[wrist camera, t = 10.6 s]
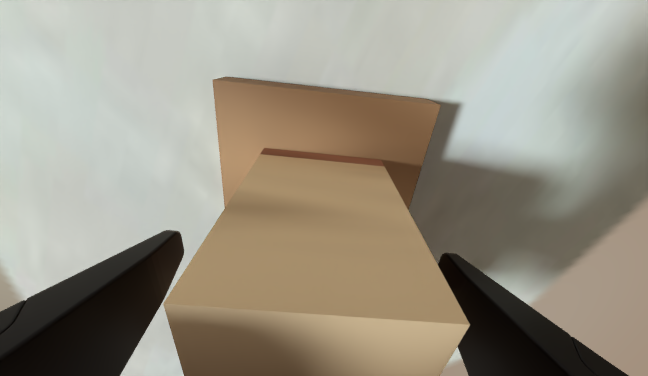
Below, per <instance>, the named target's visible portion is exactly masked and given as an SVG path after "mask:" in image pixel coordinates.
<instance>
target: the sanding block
mask: <svg viewBox="0 0 648 376" xmlns="http://www.w3.org/2000/svg"><path fill="white" fill-rule="evenodd" d="M163 304H164V308H165V311H166V315H167V318H168V322H169V325H170V329H171V332H172V335H173V339H174V342H175V346H176V349H177V353H178V356H179V360H180V363H181V366H182V370H183V373H184V376H440V374H441V373H442V371H443V369H444V368H445V366H446V364H447V363H448V361H449V359H450V358H451V356H452V354H453V353H454V351H455V349H456V348H457V346H458V344H459V343H460V341H461V339H462V338H463V336H464V334H465V333H466V331H467V329H468V328H469V326H470V324H469V322H468V320H467V318H466V316H465V314H464V313H463V311H462V309H461V307H460V305H459V303H458V301H457V300H456V298H455V296H454V294H453V292H452V290H451V289H450V287H449V285H448V283H447V281H446V279H445V277H444V276H443V274H442V272H441V270H440V268H439V266H438V264H437V263H436V261H435V259H434V257H433V255H432V253H431V252H430V250H429V248H428V246H427V244H426V242H425V240H424V239H423V237H422V235H421V233H420V231H419V229H418V227H417V226H416V224H415V222H414V220H413V218H412V216H411V215H410V213H409V211H408V209H407V207H406V205H405V203H404V202H403V200H402V198H401V196H400V194H399V192H398V190H397V189H396V187H395V185H394V183H393V181H392V179H391V178H390V176H389V174H388V172H387V170H386V168H385V166H384V165H383V163H382V161H381V160H379V159H369V158H359V157H349V156H339V155H329V154H319V153H309V152H299V151H289V150H279V149H269V148H264V149H263V150H262V152H261V154H260V155H259V157H258V158H257V160H256V161H255V163H254V164H253V166H252V167H251V169H250V171H249V172H248V174H247V175H246V177H245V178H244V180H243V181H242V183H241V184H240V186H239V188H238V189H237V191H236V192H235V194H234V195H233V197H232V198H231V200H230V201H229V203H228V205H227V206H226V208H225V209H224V211H223V212H222V214H221V215H220V217H219V218H218V220H217V222H216V223H215V225H214V226H213V228H212V229H211V231H210V232H209V234H208V235H207V237H206V239H205V240H204V242H203V243H202V245H201V246H200V248H199V249H198V251H197V252H196V254H195V256H194V257H193V259H192V260H191V262H190V263H189V265H188V266H187V268H186V269H185V271H184V273H183V274H182V276H181V277H180V279H179V280H178V282H177V283H176V285H175V286H174V288H173V290H172V291H171V293H170V294H169V296H168V297H167V299H166V300H165V302H164V303H163Z"/></svg>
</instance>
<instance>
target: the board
mask: <svg viewBox="0 0 648 376" xmlns="http://www.w3.org/2000/svg"><path fill="white" fill-rule="evenodd" d="M213 89H214V99H215V110H216V120H217V131H218V141H219V152H220V162H221V173H222V183H223V194H224V204H225V208H226V206H227V205H228V203H229V201H230V200H231V198H232V197H233V195H234V194H235V192H236V191H237V189H238V188H239V186H240V184H241V183H242V181H243V180H244V178H245V177H246V175H247V174H248V172H249V171H250V169H251V167H252V166H253V164H254V163H255V161H256V160H257V158H258V157H259V155H260V154H261V152H262V150H263V149H264V148H269V149H279V150H289V151H299V152H309V153H319V154H329V155H339V156H349V157H359V158H369V159H379V160H381V161H382V163H383V165H384V166H385V168H386V170H387V172H388V174H389V176H390V178H391V179H392V181H393V183H394V185H395V187H396V189H397V190H398V192H399V194H400V196H401V198H402V200H403V202H404V203H405V205H406V207H407V209H409V206H410V203H411V200H412V197H413V193H414V190H415V187H416V184H417V180H418V177H419V174H420V171H421V167H422V164H423V161H424V158H425V155H426V151H427V148H428V145H429V142H430V138H431V135H432V132H433V129H434V126H435V122H436V119H437V116H438V113H439V109H440V106H441V105H440V104H437V103H435V102H433V101H430V100H428V99H422V98H413V97H404V96H395V95H386V94H377V93H368V92H359V91H350V90H341V89H332V88H323V87H314V86H305V85H296V84H287V83H278V82H269V81H260V80H251V79H243V78H234V77H223V78H218V79H214V80H213Z"/></svg>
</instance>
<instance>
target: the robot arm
mask: <svg viewBox="0 0 648 376" xmlns="http://www.w3.org/2000/svg"><path fill="white" fill-rule="evenodd" d="M183 255H184V247H183V242H182V237H181V234H180V232H179V231H172V230H166V231H163V232H161V233H159V234H157V235H155V236H153V237H151V238H149V239H147V240H145V241H143V242H141V243H139V244H137V245H135V246H133V247H131V248H129V249H127V250H125V251H123V252H121V253H119V254H116V255H114V256H112V257H110V258H108V259H106V260H104V261H102V262H100V263H98V264H96V265H94V266H92V267H90V268H88V269H86V270H84V271H82V272H80V273H78V274H76V275H74V276H72V277H70V278H68V279H66V280H64V281H62V282H60V283H58V284H56V285H54V286H52V287H50V288H48V289H45V290H43V291H41V292H39V293H37V294H35V295H33V296H31V297H29V298H28V299H27V300H26V301H25V300H23V301H21V302H19V303H17V304H15V305H13V306H11V307H9V308H7V309H5V310H3V311H1V312H0V376H120V374H121V372H122V371H123V369H124V367H125V366H126V364H127V362H128V360H129V359H130V357H131V355H132V354H133V352H134V350H135V348H136V347H137V345H138V343H139V341H140V340H141V338H142V336H143V335H144V333H145V331H146V329H147V328H148V326H149V324H150V322H151V321H152V319H153V317H154V316H155V314H156V312H157V310H158V309H159V307H160V305H161V303H162V302H163V300H164V298H165V296H166V294H167V291H168V289H169V287H170V285H171V283H172V280H173V278H174V276H175V274H176V271H177V269H178V267H179V265H180V262H181V260H182V258H183ZM438 266H439V268H440V270H441V272H442V274H443V276H444V277H445V279H446V281H447V283H448V285H449V287H450V289H451V290H452V292H453V294H454V296H455V298H456V300H457V301H458V303H459V305H460V307H461V309H462V311H463V313H464V314H465V316H466V318H467V320H468V322H469V324H470V326H469V328H468V329H467V331H466V333H465V334H464V336H463V338H462V339H461V341H460V343H459V344H458V349H459V351H460V354H461V357H462V359H463V362H464V364H465V367H466V369H467V372H468V375H469V376H628V375H627V374H625V373H624V372H622V371H621V370H619V369H618V368H616V367H615V366H614V365H612V364H611V363H609V362H608V361H606V360H605V359H603V358H602V357H601V356H599V355H598V354H596V353H595V352H593V351H592V350H591V349H589V348H588V347H586V346H585V345H583V344H582V343H581V342H579V341H578V340H577V339H575V338H574V337H571V336H570V335H569V334H568V333H567V332H565V331H564V330H562V329H561V328H560V327H558V326H557V325H555V324H554V323H553V322H551V321H550V320H548V319H547V318H545V317H544V316H543V315H541V314H540V313H539V312H537V311H536V310H534V309H533V308H532V307H530V306H529V305H527V304H526V303H525V302H523V301H522V300H520V299H519V298H518V297H516V296H515V295H513V294H512V293H511V292H509V291H508V290H506V289H505V288H503V287H502V286H501V285H499V284H498V283H496V282H495V281H494V280H492V279H491V278H489V277H488V276H487V275H485V274H484V273H482V272H481V271H480V270H478V269H477V268H475V267H474V266H473V265H471V264H470V263H468V262H467V261H466V260H464V259H463V258H461V257H460V256H459V255H457V254H454V253H444V254H443V255H442V256H441V259H440V261H439V263H438Z"/></svg>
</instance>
